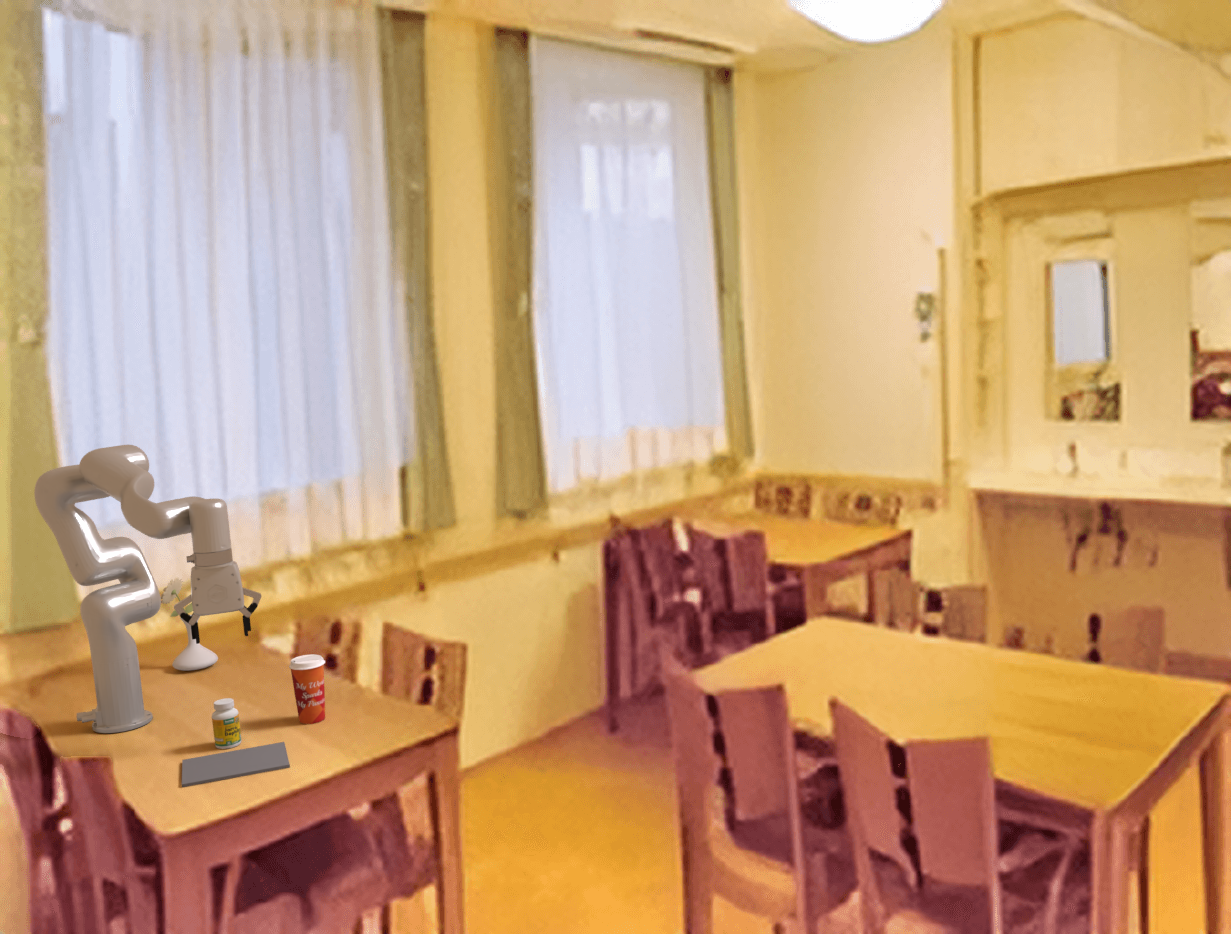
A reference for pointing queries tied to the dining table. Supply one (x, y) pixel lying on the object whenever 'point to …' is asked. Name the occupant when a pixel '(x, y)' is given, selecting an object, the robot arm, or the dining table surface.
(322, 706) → the paper cup
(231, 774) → the charcoal mat
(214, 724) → the supplement bottle
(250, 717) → the dining table surface
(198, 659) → the flower in vase
